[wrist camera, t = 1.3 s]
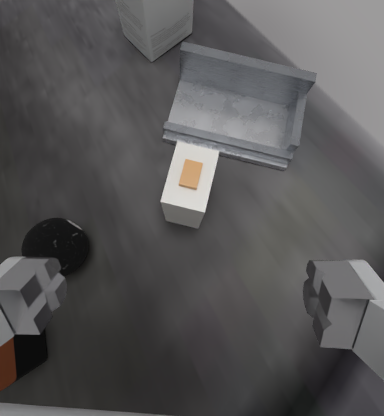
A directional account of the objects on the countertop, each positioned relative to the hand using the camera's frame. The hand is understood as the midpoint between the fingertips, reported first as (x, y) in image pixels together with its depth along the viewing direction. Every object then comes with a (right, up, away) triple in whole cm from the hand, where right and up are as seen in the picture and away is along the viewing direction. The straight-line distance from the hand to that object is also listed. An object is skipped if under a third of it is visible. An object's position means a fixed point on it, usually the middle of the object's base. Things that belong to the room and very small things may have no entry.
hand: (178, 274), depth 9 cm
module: (0, +3, +24) cm, 24 cm away
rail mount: (+6, +14, +26) cm, 30 cm away
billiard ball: (-14, -3, +22) cm, 26 cm away
